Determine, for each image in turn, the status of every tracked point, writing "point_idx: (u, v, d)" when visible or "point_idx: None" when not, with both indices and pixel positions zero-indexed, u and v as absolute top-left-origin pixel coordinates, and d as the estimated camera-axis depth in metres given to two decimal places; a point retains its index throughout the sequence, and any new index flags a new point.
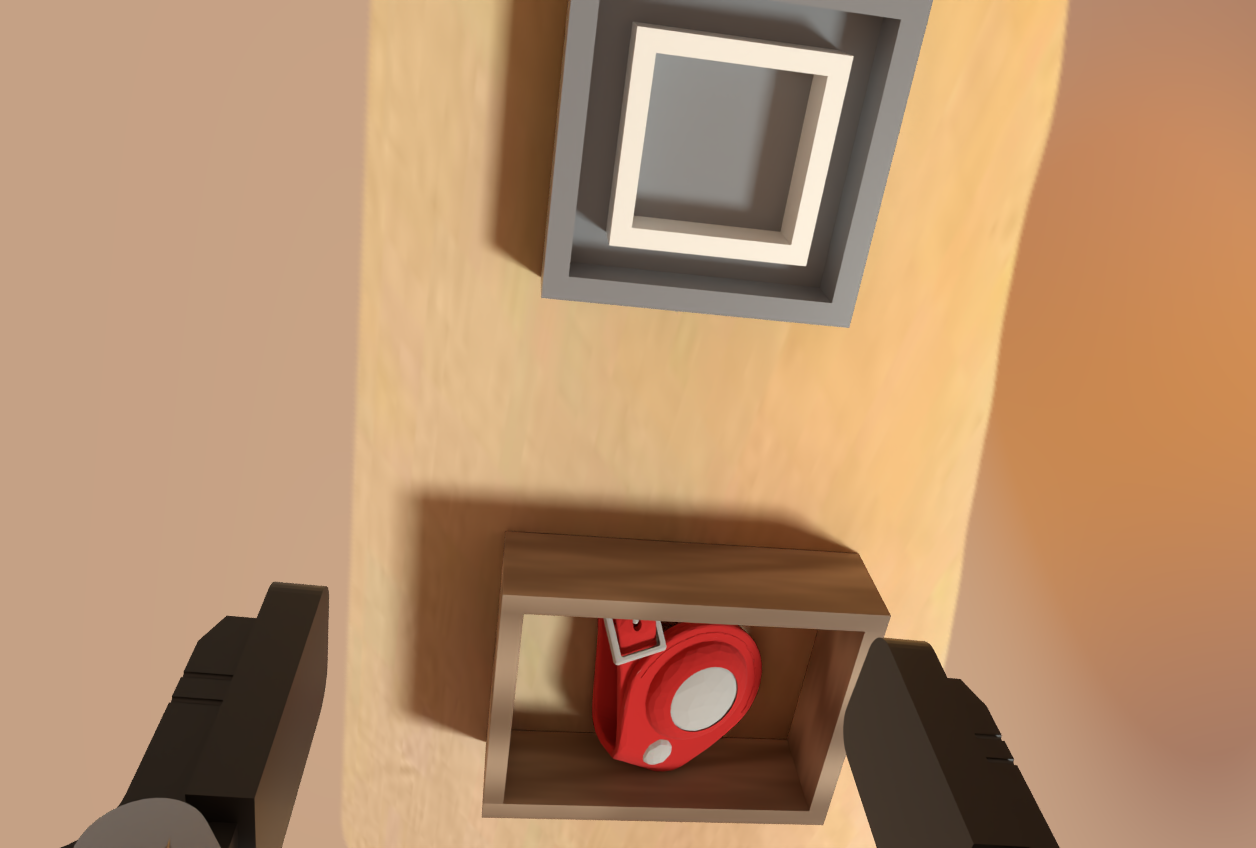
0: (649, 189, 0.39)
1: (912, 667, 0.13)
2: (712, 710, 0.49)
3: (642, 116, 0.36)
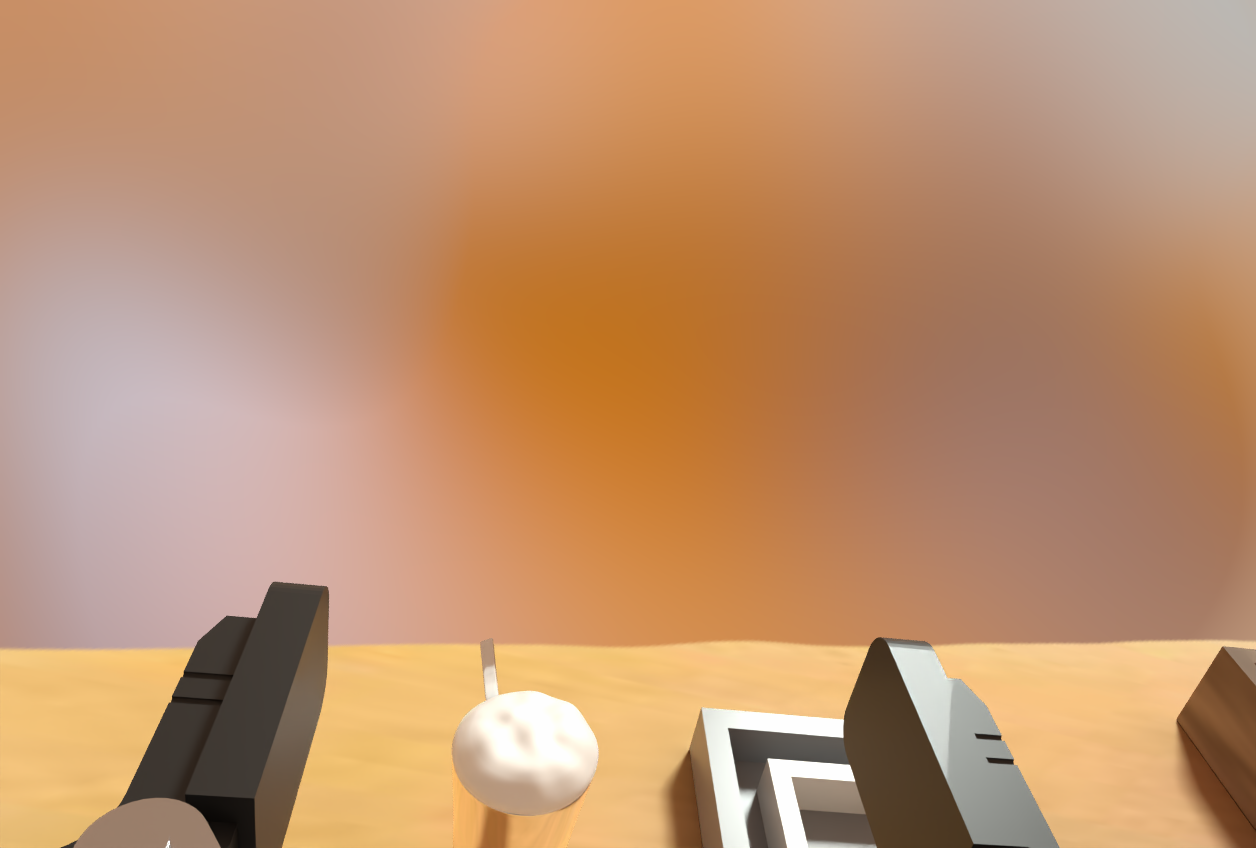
0: None
1: (912, 667, 0.13)
2: None
3: None
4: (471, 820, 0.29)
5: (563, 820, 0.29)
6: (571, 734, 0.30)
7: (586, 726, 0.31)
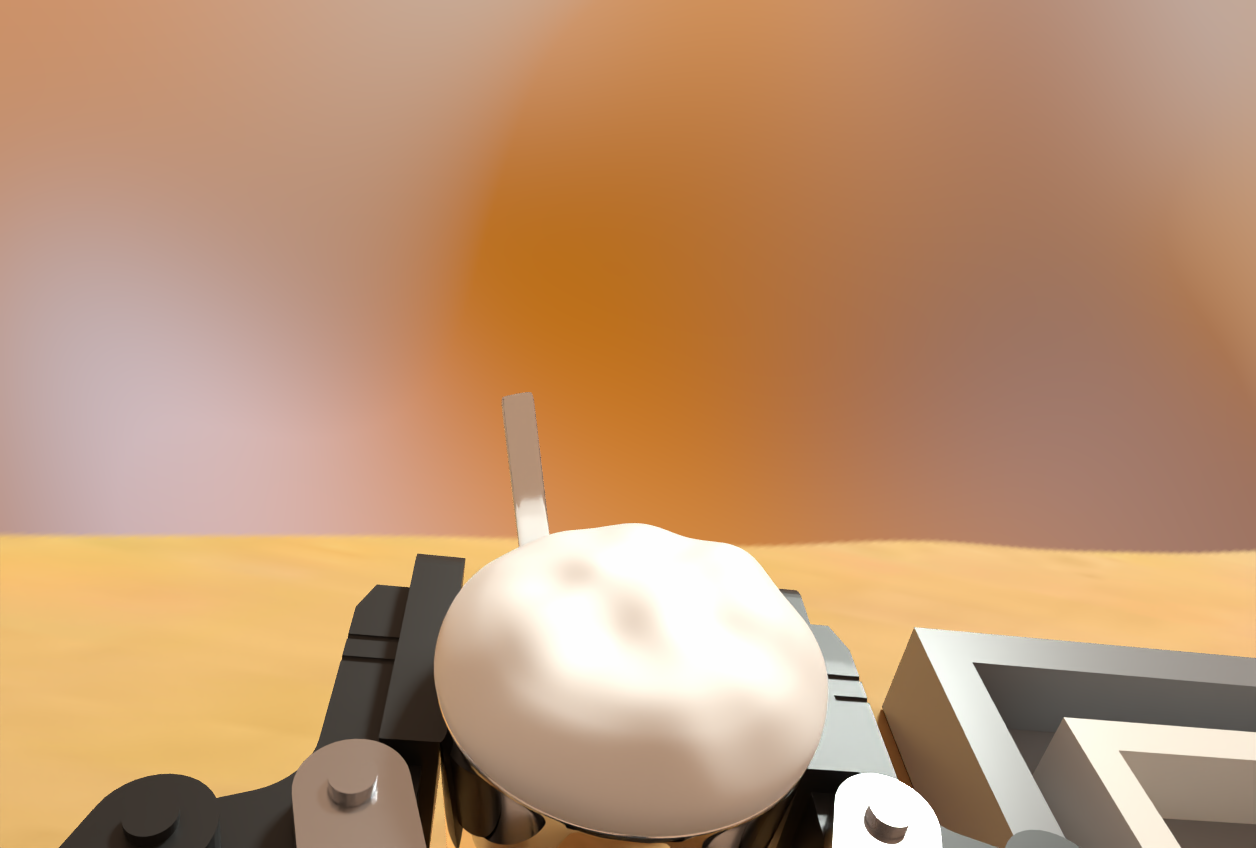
0: None
1: None
2: None
3: None
4: None
5: None
6: (762, 610, 0.11)
7: (785, 598, 0.12)
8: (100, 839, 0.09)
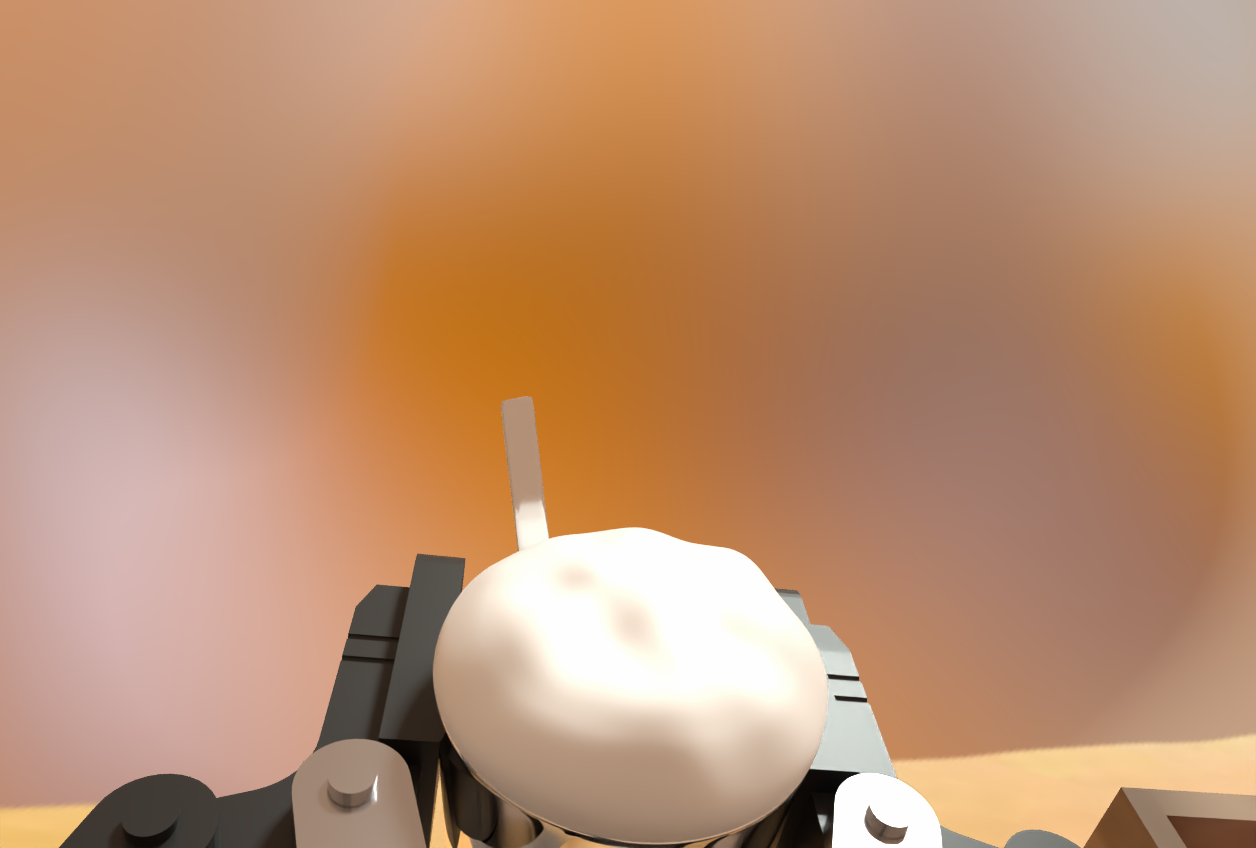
0: None
1: None
2: None
3: None
4: None
5: None
6: (761, 616, 0.11)
7: None
8: (100, 839, 0.09)
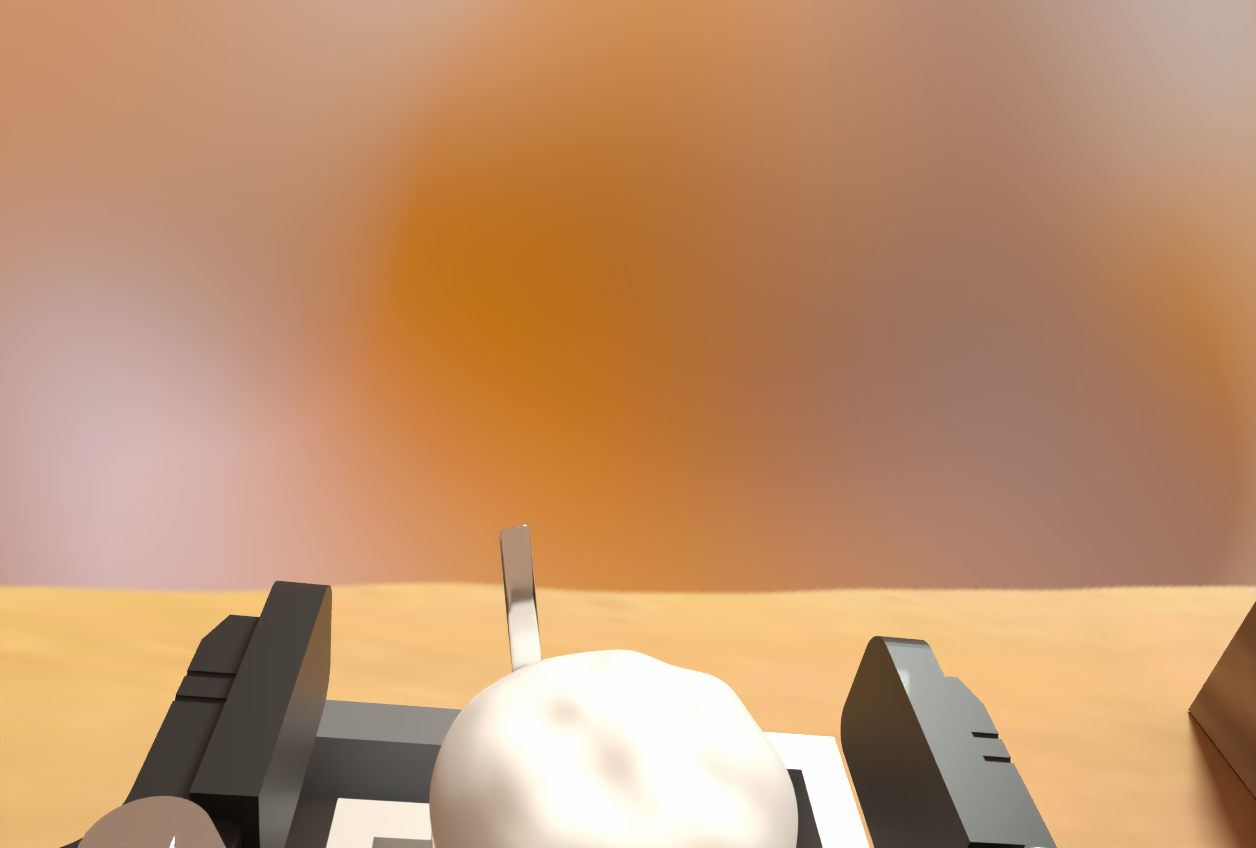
0: None
1: (909, 666, 0.13)
2: None
3: None
4: None
5: None
6: (737, 755, 0.11)
7: (761, 733, 0.12)
8: None
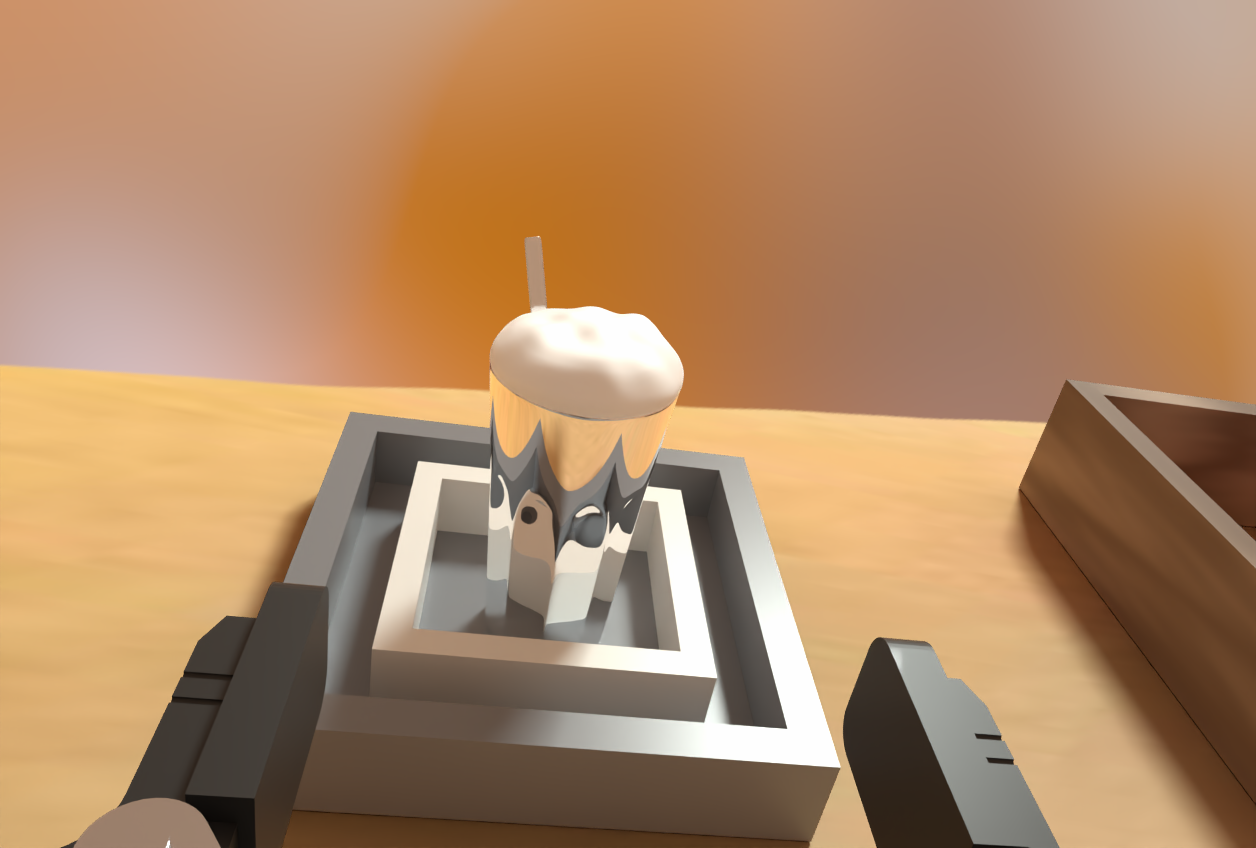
0: None
1: (912, 667, 0.13)
2: None
3: (507, 641, 0.23)
4: (517, 442, 0.22)
5: (640, 443, 0.22)
6: (650, 335, 0.22)
7: None
8: None
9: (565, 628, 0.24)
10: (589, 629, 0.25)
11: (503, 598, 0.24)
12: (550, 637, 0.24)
